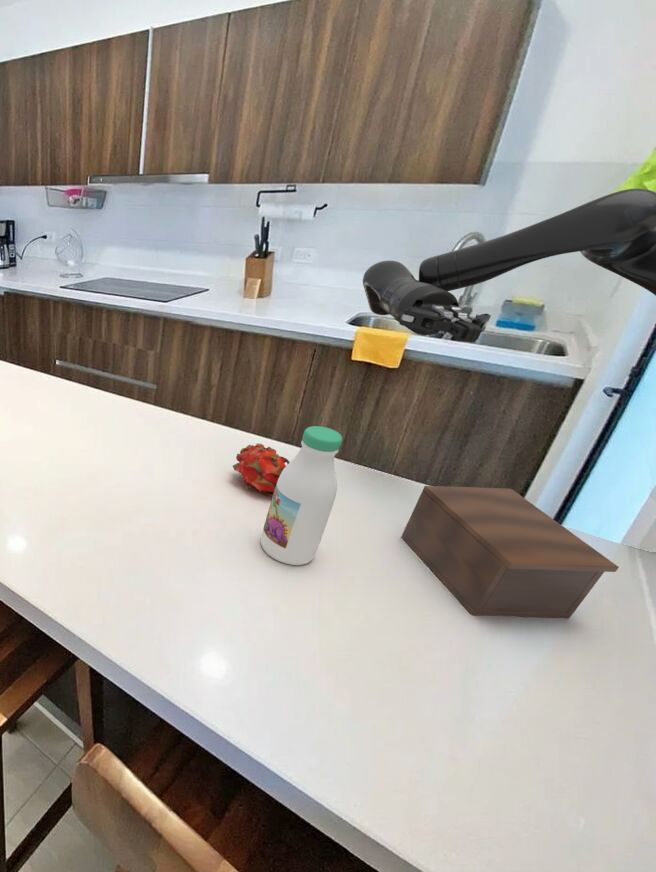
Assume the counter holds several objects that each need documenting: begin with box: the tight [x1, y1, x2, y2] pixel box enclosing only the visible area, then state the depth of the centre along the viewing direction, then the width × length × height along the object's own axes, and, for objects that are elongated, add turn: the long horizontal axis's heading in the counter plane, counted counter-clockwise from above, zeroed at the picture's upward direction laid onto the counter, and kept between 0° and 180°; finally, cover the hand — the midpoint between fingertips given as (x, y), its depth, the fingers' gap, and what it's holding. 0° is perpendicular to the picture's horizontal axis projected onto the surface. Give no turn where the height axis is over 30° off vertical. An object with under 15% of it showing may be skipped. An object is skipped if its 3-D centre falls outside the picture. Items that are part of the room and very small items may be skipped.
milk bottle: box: [260, 425, 343, 566], centre depth 71 cm, size 8×8×20 cm
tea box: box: [400, 490, 605, 619], centre depth 70 cm, size 16×13×9 cm
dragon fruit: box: [232, 443, 291, 497], centre depth 89 cm, size 8×8×12 cm
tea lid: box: [422, 485, 620, 573], centre depth 67 cm, size 17×13×1 cm
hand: (472, 335), depth 72 cm, fingers closed
